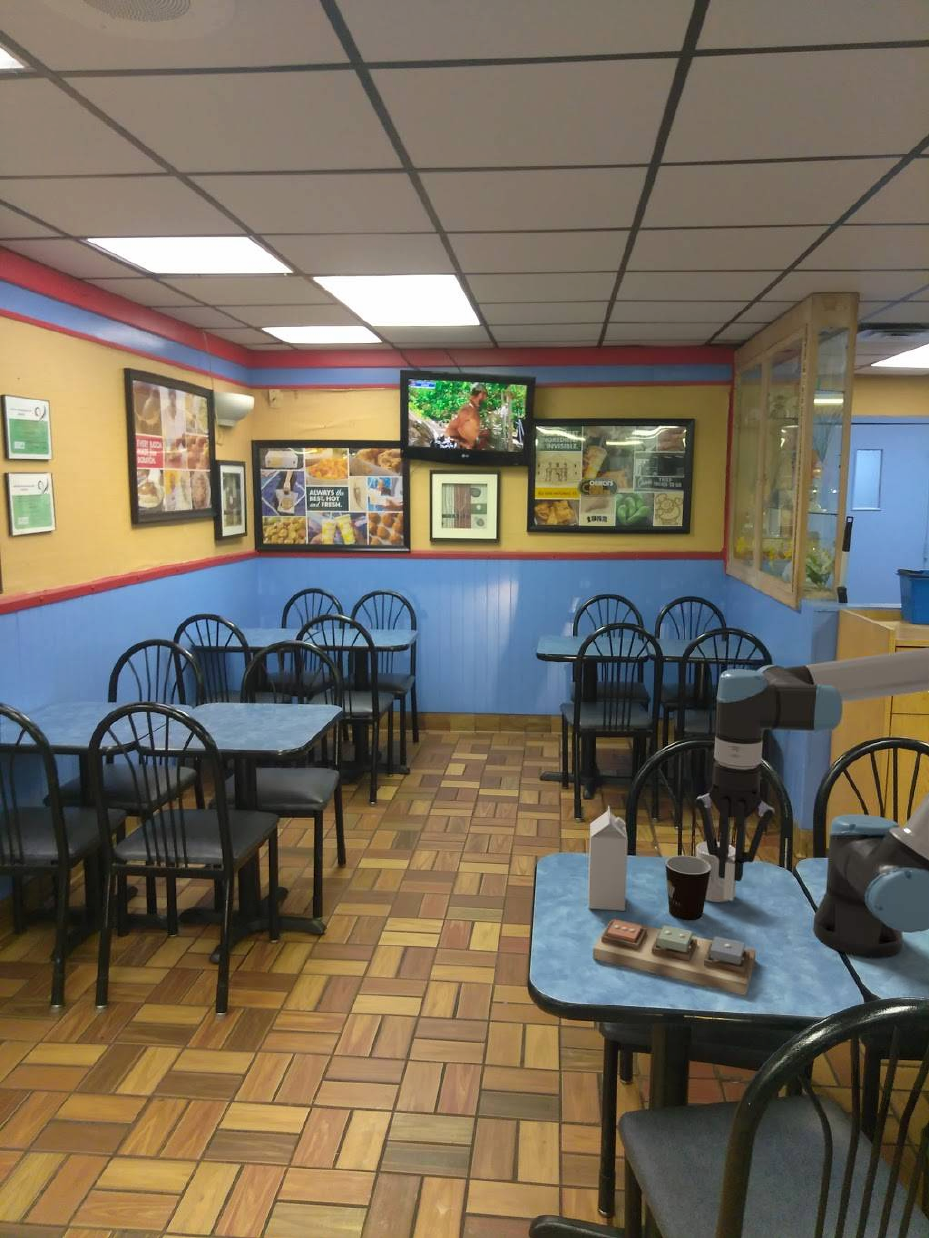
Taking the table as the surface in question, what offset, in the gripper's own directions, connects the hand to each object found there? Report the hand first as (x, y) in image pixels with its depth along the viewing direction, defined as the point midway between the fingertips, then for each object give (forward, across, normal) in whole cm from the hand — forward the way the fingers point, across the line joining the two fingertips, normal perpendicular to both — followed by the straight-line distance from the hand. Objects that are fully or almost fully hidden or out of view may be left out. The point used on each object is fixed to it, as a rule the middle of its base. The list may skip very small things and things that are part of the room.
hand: (729, 896), depth 150 cm
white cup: (+14, -7, +29) cm, 33 cm away
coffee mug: (+14, -11, +20) cm, 27 cm away
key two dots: (+11, -9, 0) cm, 14 cm away
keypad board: (+14, -9, 0) cm, 16 cm away
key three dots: (+12, -18, 0) cm, 21 cm away
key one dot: (+11, 0, 0) cm, 11 cm away
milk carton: (+14, -26, +16) cm, 33 cm away
